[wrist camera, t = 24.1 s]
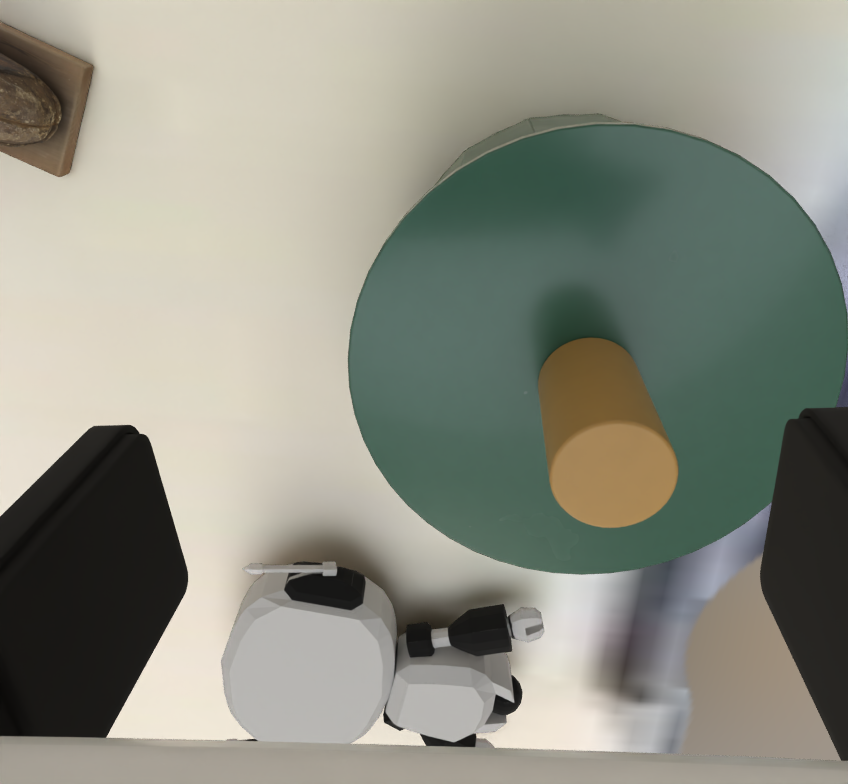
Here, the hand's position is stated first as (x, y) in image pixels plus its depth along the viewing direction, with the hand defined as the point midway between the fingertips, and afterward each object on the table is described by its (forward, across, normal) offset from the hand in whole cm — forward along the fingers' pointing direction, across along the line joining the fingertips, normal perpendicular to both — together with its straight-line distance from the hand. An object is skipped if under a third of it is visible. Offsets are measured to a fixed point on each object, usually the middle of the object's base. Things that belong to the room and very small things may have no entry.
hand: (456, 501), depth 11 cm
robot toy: (+19, +6, +22) cm, 30 cm away
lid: (+10, -3, +3) cm, 11 cm away
